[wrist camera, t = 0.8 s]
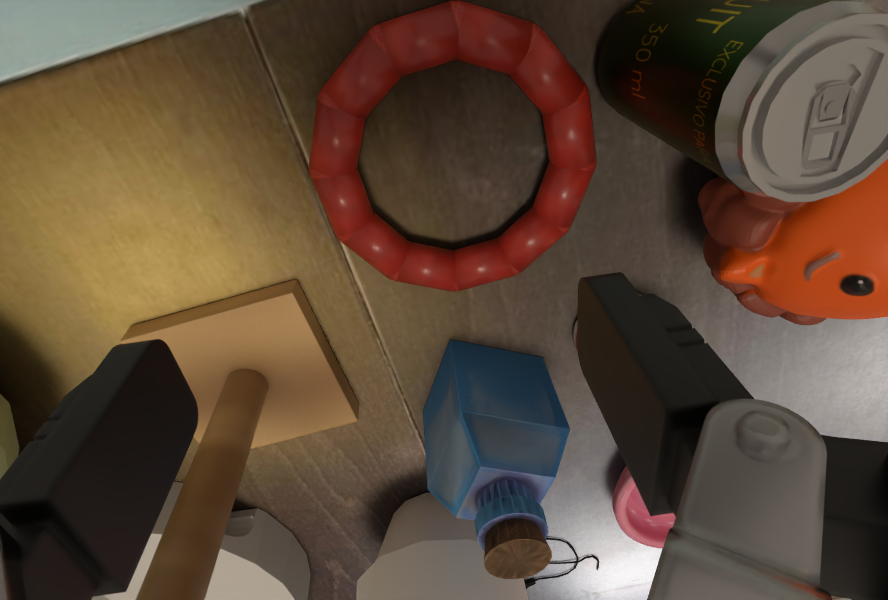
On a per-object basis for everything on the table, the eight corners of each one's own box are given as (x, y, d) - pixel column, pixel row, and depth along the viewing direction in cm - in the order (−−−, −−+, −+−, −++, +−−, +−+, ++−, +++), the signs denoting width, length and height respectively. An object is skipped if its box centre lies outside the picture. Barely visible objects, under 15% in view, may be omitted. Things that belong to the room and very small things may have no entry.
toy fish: (739, 290, 32) (890, 429, 22) (619, 201, 28) (738, 321, 18) (924, 122, 27) (1218, 206, 17) (809, -13, 23) (1105, -3, 14)
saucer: (576, 505, 42) (588, 541, 39) (653, 390, 36) (674, 424, 33) (706, 524, 44) (726, 559, 42) (798, 420, 38) (828, 454, 36)
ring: (267, 57, 23) (256, 64, 21) (565, -39, 22) (581, -39, 20) (370, 302, 30) (368, 323, 28) (598, 238, 29) (612, 257, 27)
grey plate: (-72, 503, 36) (-120, 558, 32) (265, 457, 36) (252, 507, 33) (87, 661, 48) (64, 713, 45) (337, 626, 48) (333, 675, 45)
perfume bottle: (508, 425, 36) (552, 601, 26) (422, 412, 35) (434, 591, 25) (542, 357, 33) (607, 525, 23) (449, 339, 32) (475, 509, 22)
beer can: (700, 106, 26) (900, 193, 15) (591, 125, 26) (720, 224, 16) (714, -21, 23) (972, -17, 13) (592, 0, 23) (751, 21, 13)
